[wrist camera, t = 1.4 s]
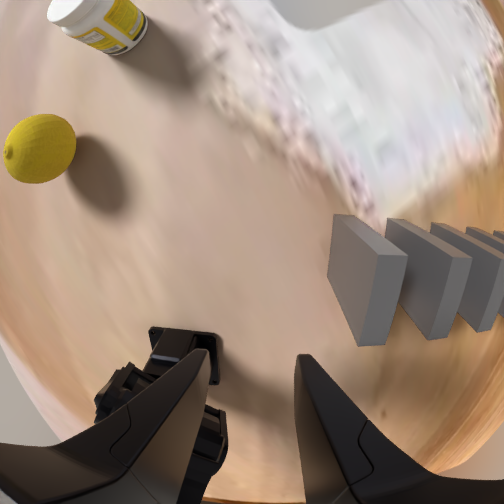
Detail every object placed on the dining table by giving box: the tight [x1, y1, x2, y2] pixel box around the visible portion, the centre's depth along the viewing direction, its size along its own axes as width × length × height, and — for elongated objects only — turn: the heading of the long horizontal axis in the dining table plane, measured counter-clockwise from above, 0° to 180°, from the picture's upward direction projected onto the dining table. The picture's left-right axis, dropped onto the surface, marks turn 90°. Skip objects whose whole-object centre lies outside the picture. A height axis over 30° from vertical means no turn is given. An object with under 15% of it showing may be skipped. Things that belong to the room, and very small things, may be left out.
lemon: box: [3, 114, 76, 184], centre depth 15 cm, size 6×6×8 cm
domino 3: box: [430, 222, 504, 332], centre depth 16 cm, size 2×5×9 cm, turn 179°
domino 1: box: [327, 214, 408, 347], centre depth 16 cm, size 2×5×9 cm, turn 179°
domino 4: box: [465, 227, 504, 317], centre depth 15 cm, size 2×5×9 cm, turn 179°
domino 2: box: [385, 218, 473, 340], centre depth 16 cm, size 2×5×9 cm, turn 179°
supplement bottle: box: [47, 0, 148, 55], centre depth 11 cm, size 5×5×8 cm
